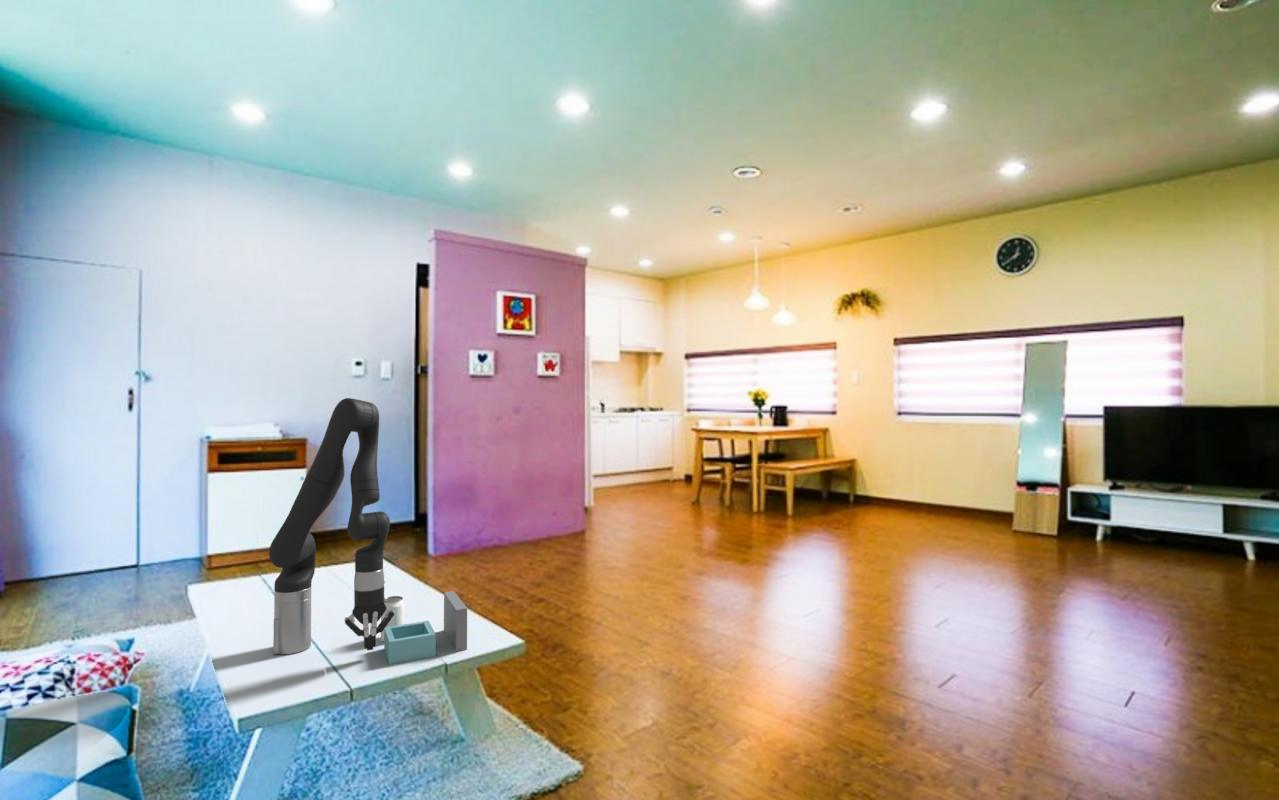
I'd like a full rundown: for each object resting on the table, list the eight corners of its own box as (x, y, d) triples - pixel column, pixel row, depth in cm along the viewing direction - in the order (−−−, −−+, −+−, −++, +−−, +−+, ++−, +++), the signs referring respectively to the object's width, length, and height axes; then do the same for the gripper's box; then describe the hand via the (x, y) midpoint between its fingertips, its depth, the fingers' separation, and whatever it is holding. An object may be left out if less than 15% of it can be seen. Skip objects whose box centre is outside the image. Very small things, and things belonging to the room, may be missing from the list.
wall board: (456, 652, 172) (456, 609, 172) (443, 631, 188) (444, 592, 188) (466, 650, 174) (467, 608, 174) (453, 629, 189) (454, 590, 189)
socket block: (389, 664, 163) (389, 642, 163) (384, 648, 174) (384, 627, 174) (435, 655, 169) (435, 634, 169) (428, 640, 180) (428, 620, 180)
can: (408, 639, 182) (408, 598, 182) (387, 645, 177) (387, 604, 177) (397, 633, 186) (398, 594, 186) (376, 639, 181) (377, 599, 181)
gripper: (393, 578, 173) (393, 639, 173) (341, 586, 167) (342, 649, 167) (397, 585, 167) (397, 648, 167) (343, 593, 160) (344, 659, 160)
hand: (369, 649), depth 167 cm, fingers closed
